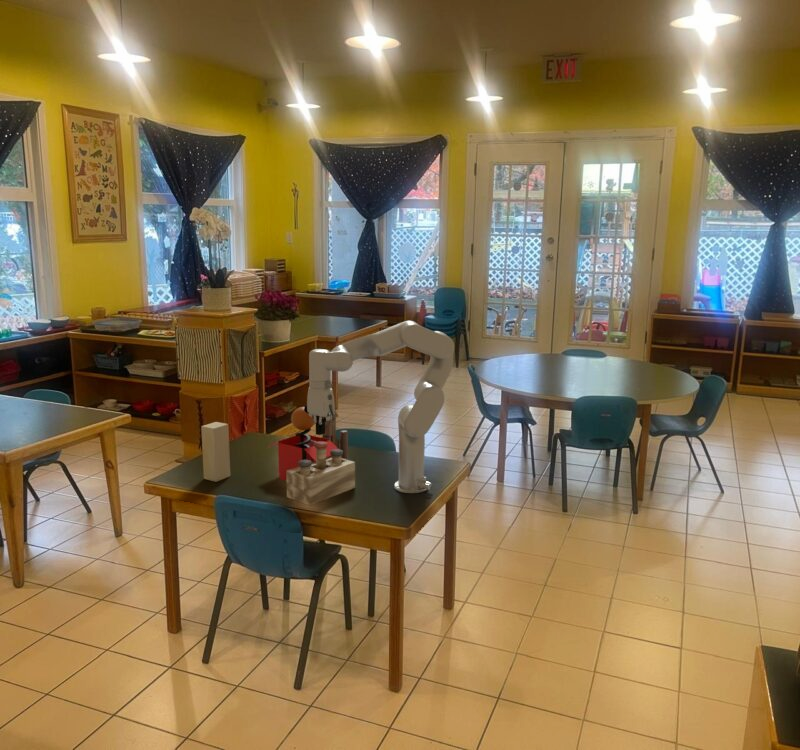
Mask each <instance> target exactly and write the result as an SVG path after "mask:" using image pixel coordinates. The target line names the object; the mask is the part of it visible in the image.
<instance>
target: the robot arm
mask: <svg viewBox="0 0 800 750" xmlns="http://www.w3.org/2000/svg"><path fill="white" fill-rule="evenodd" d="M406 347H408V348H410V349H412V350H415V351H417V352H420V353H422V354H425V355H428V356H429V362H428V364H427V367H426V369H425V371H424V373H423V375H422V376H421V377H420V379H419V382H418V383H417V384H416V386H415V388H414V390H413V391H414V392H413V397H414V398H415V401H414V403H413V404H412V403H410V404H406V405H404V406H403V407H402V408H401V409H400V411H399V412H398V416H397V424H398V425H397V426H398V427H397V428H398V480H397V481H395V483H394V485H393V488H394V489H395V490H396V491H397V492H399V493H404V494H419V493H423V492H425V491H427V490H430V489H431V487H432V485H433V483H432V482H430V481H427V477H426V476H425V449H426V447H425V446H426V438H425V437H426V434H427V433H429V431H430V429H431V427H432V426H433V424H434V423H435V421H436V419H437V417H438V416H439V414H440V412H441V410H442V409H443V406H444V403H445V400H446V399H445V393H444V391H443V389H444V386H445V385H446V383H447V381H448V379H449V376H450V375H451V373H452V369H453V365H454V351H455V343H454V340H453V339H452V338H451V337H450V336H448V335H447V334H446V333H445V332H442V331H439V330H431V329H429V328H426V327H424V326H422V325H420V324H419V323H417V322H416V321H414V320H405V321H403V322H402V321H401V322H399V323H397V324H394V325H392V326H389V327H387V328H385V329H382V330H379V331H377V332H374V333H371V334H367V335H364V336H361V337H357V338H355V339H351V340H348V341H346V342H344V343H342V344H340V345H337V346H335V347H333V348H332V350H331V351H330V350H328V349H323V348H316V349H312V350H310V351H309V355H308V363H309V365H308V366H309V367H308V369H309V370H308V371H309V372H308V373H309V375H308V377H309V378H308V379H309V387H308V390H307V397H306V405H307V411H308V413H309V416H311V417H313V419H314V425H315V435H318V436H322V434H325V423H326V422H327V421H330V420H332V415H334V414H335V411H336V409H335V408H336V407H335V406H336V405H335V396H334V390H333V388H332V386H333V385H332V383H331V382H332V380H331V371H333V372H334V371H335V372H347V371H349V370H351V368H352V367H353V364H354V362H355V361H357V360H360V359H363V358H367V357H383V356H386V355H389V354H391V353H393V352H395V351H398V350H400V349H403V348H406Z"/></svg>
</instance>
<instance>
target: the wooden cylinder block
mask: <svg viewBox="0 0 800 750" xmlns="http://www.w3.org/2000/svg"><path fill="white" fill-rule="evenodd" d="M341 460H342V463H340V464H334V463H332V456H328V457H326V468H325V469H317V468H316V461H314V462H312V465H311V466H310V474H309V475H306V476H304V475H301V474H300V466H299V467H296V468H293V469H290V470H287V471H286V477H287V481H286V498H288V499H290V500H294V501H296V502H300V503H302V504H304V505H307V506H313V505H316V504H318V503H320V502H322V501H326V500H327V499H330V498H333V497H335V496H338V495H340V494H343V493H346V492H348V491H350V490H352V489H355V488H356V461H353V460H350V459H348V460H346V459H343V458H341Z"/></svg>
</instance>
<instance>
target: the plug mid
mask: <svg viewBox="0 0 800 750" xmlns="http://www.w3.org/2000/svg"><path fill="white" fill-rule="evenodd" d="M326 447H327V442H316V443H315V448H316V468H317V469H325V468H326Z"/></svg>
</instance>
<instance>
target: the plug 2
mask: <svg viewBox="0 0 800 750" xmlns="http://www.w3.org/2000/svg"><path fill="white" fill-rule="evenodd" d="M330 455H331V456H332V463H334V464H340V463H342V460H341V455H343V451H342V450H340V449H334V450H331V451H330Z"/></svg>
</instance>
